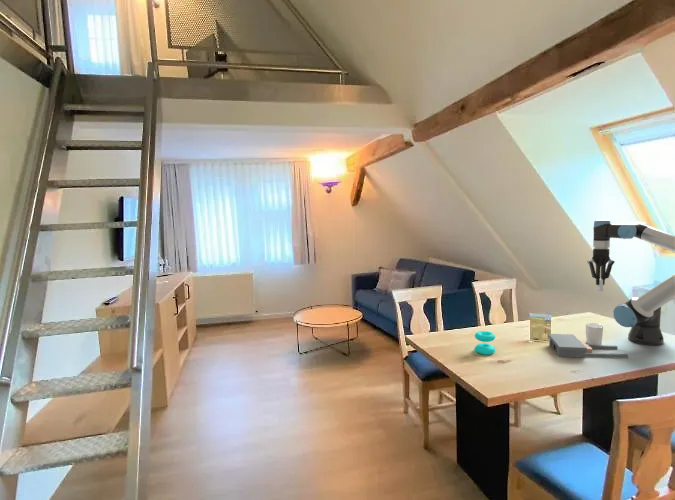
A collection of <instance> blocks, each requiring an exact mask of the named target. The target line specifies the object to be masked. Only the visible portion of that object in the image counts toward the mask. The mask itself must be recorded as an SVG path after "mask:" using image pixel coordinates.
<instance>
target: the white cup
mask: <svg viewBox="0 0 675 500" xmlns="http://www.w3.org/2000/svg"><path fill="white" fill-rule="evenodd" d="M603 333H604V325H603V324H600V323H596V322H595V323H593V322H588V323H587V322H586V323H585V336H586V337H585V338H586V343H587V344H588V345H602V342H603Z"/></svg>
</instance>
